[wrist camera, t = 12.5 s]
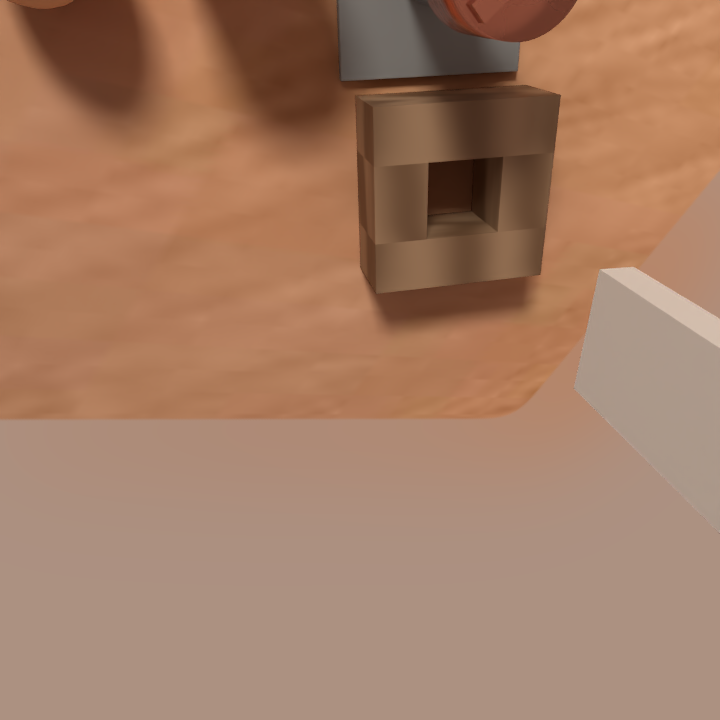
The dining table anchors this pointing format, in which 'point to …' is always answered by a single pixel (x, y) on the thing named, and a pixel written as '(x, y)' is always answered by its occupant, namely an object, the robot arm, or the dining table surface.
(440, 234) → the eye block
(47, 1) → the egg
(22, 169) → the dining table surface
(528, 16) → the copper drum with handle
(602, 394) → the robot arm
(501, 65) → the mat
